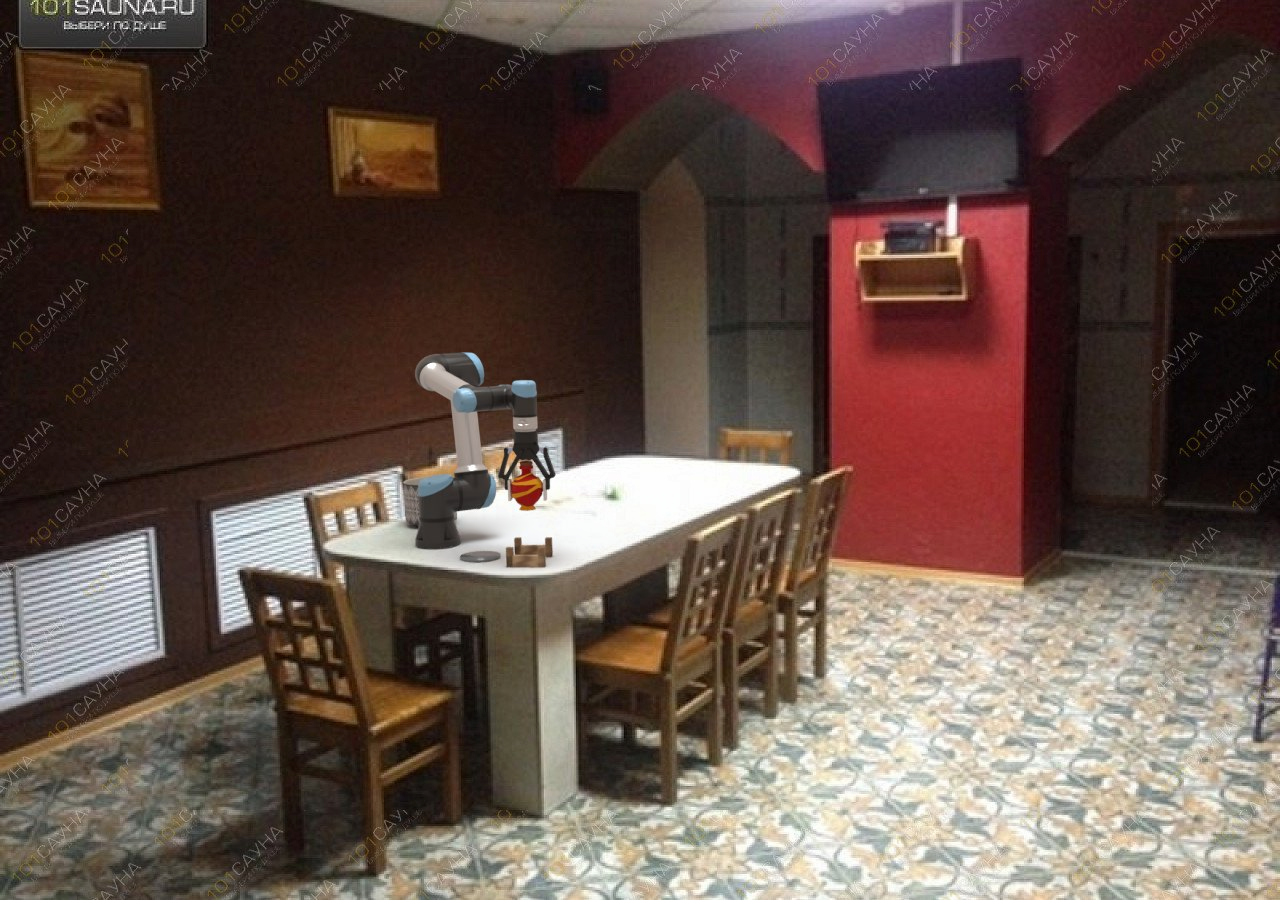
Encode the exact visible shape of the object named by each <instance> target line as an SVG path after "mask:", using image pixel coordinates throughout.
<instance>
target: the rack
mask: <svg viewBox="0 0 1280 900" xmlns="http://www.w3.org/2000/svg"><path fill="white" fill-rule="evenodd" d="M522 540H523V539H522V537H520V536H518V537H514V538H513V542H514V546H506V548H505V561H506V564H505V565H506V568H546V565H547V564H546V563H547V562H546V559H547V558H553V555H554V554H553V552H554V551H553V537H551V536H548V537H547V536H546V537H544V544H523V543H522Z"/></svg>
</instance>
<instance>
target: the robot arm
mask: <svg viewBox="0 0 1280 900" xmlns="http://www.w3.org/2000/svg"><path fill="white" fill-rule="evenodd" d="M415 367H416V368H415V370H414V371H415V372H414V375H415V380H416V382H417V384H418V385H419V386H421V388H423V389H425V390H426V391H430V392H436V393H437V394H440V395H441V396H443V397H444V398H446V399H447V400H449V401H450V406H451V416H452V424H453V425H452V427H453V435H454V444H455V445H454V446H455V453H456V463H457V467H456V469H455V470H454V472H453V475H452V474H450V473H441V474H433V475H430V476H425V477H426V478H424V479H422V480H421V481H420V482H419V484H418V500H419V518H420V524H419V526H417V527H418V528H417V532H416V534H415V535H416V536H415V539H414V540H415V541H414V542H415V543H414V544H415V547H417V548H419V549H425V550H426V549H427V550H429V549H430V550H438V549H439V550H440V549H448V548H452V547H456V546H459V545H460V544H461V535H460V532H459V530H458V528H457V524H456V521H454V512H457V513H458V512H465V511H472V510H481V509H484V508H485V509H486V508H488V507H490V506H491V505H493V503H494V500H495V499H496V495H497V482H496V481H497V480H496V479H495V477H494V475H493V474H491V473H489V470H488V469H489V468H488V467H486V466H485V465H484V464H483V463H484V462H483V454H482V445H481V436H480V435H481V434H480V427H479V417H478V412H488V411H499V410H502V411H503V410H512V428H513V430H514V431H513V432H512V433H513V446H510V447H509V446H505V447H504V448H503V458H502V462H501V465H500V469H499V472H498V474H497V477H498V478H499V479H502V480H504V481H503V482H504V490H505V491H507V498H508V502H511V501H512V500H513V498H512V496H511V494H512V492H511V483H512V482H513V479H512V478H510V477H511V475H512V474H513V472H514V470H515V468H516V466H517V464H519V461H520V460H521V461H532V462H533V463H535V465H536V467H537V469H539V471H540V473H541V474H542V476H543V477H544V478H543V480H542V482H543V492H542V496H543V497H542V498H543V499H542V500H543V501H544V502H546V501H547V500H548V491H549V490H550V489H551V479H553V478H555V477H556V472H555V468H554V465H553V462H552V460H551V457H550V454H549V447H548V446H540V445H539V437H538V436H539V434H538V430H537V429H538V404H537V403H538V401H537V400H538V398H537V397H538V395H537V394H538V392H537V384H536V382H535V381H534V380H527V379H525V380H523V379H520V380H514V381H513V382H512V383H511V384H506V383H505V384H499V385H495V386H494V385H493V386H481V385H482V384H483V383H484V380H485V379H484V378H485V370H484V366H483V363H482V362H481V360H480V358H479V356H477V355H476V354H475V353H473V352H449V353H434V354H430V355H426V356H425V357H424V358H421V360H420V361H419V362H418V364H416V366H415ZM512 452H513V454H514V455H515V457H514V459H513V461H512V462H511V465H510V466H509V467H508V470H507V472H506V473H505V471H506V468H507V465H508V461H509V457H510V455H511V454H512ZM539 452H540V453H541V454H542V455H543V458H544V461H545V464H546V466H547V468H545V466H544V464H543V463H542V462H541V460H540V458H539V456H538V453H539ZM546 469H547V470H548V471H547V470H546Z"/></svg>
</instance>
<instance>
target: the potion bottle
mask: <svg viewBox="0 0 1280 900" xmlns="http://www.w3.org/2000/svg"><path fill="white" fill-rule="evenodd" d="M533 463H534V461H533V460H521V461H520V462H519V461H518V464H519V467H518V468H519V469H520V470H521V473H520V474H519V475H518V476H516V477H514V478H513V480H512V483H511V492H512V494H511V496H512V499H514V500H515V502H516V504H518V505H519V506H520V507H519V509H518V510H519V511H522V512H523V511H525V512H528V511H529V512H530V511H535V510H536V509H537V508H536V507H535V505H536V504H537V503H538V502H539V501H540V499H541V497H542V496H543V480H541V479H540V477H539V476H536V475H534V473H532V470H533V469H534V465H533Z"/></svg>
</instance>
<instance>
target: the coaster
mask: <svg viewBox="0 0 1280 900" xmlns="http://www.w3.org/2000/svg"><path fill="white" fill-rule="evenodd" d="M500 557H502V555H501V553H500V552H498V551H493V550H478V551H477V550H475V551H474V550H473V551H468V552H464V553H462V554H460V556H459V560H460V561H461V562H466V563H487V562H493V561H498V560H499V559H501V558H500Z"/></svg>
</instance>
